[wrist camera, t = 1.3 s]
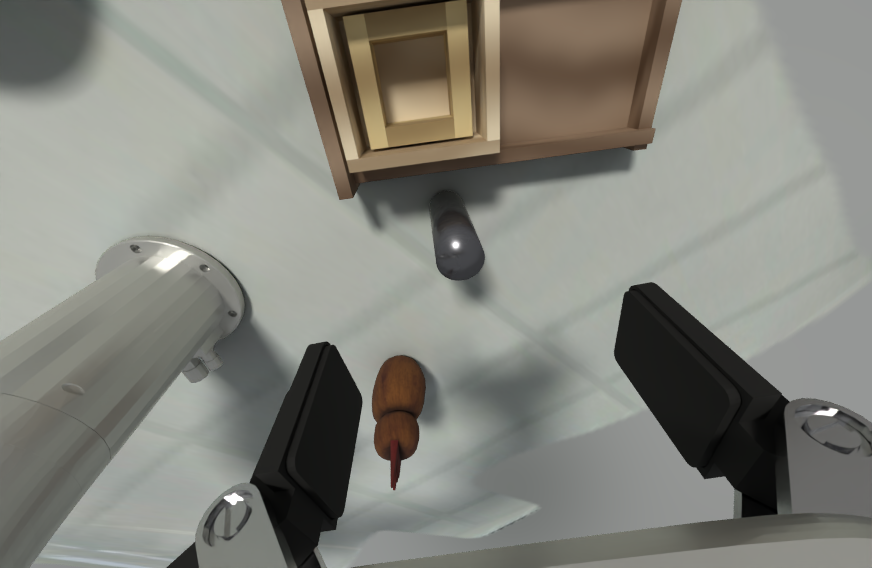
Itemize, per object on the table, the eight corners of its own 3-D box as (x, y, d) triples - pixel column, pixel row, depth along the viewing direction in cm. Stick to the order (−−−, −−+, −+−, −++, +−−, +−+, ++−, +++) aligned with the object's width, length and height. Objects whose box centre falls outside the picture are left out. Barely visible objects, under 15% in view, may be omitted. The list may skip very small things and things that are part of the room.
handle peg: (464, 221, 30) (485, 277, 21) (431, 226, 30) (439, 283, 21) (462, 188, 28) (484, 234, 20) (427, 192, 28) (433, 241, 20)
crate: (485, 140, 25) (499, 152, 20) (360, 157, 25) (349, 173, 21) (480, -14, 20) (499, -39, 16) (325, 8, 20) (301, -10, 16)
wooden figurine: (384, 342, 37) (370, 474, 25) (429, 352, 39) (438, 482, 26) (371, 379, 41) (352, 511, 28) (413, 386, 42) (413, 516, 30)
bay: (627, 143, 27) (668, 155, 22) (350, 181, 27) (339, 199, 23) (674, -81, 19) (745, -124, 15) (296, -26, 20) (265, -54, 16)
